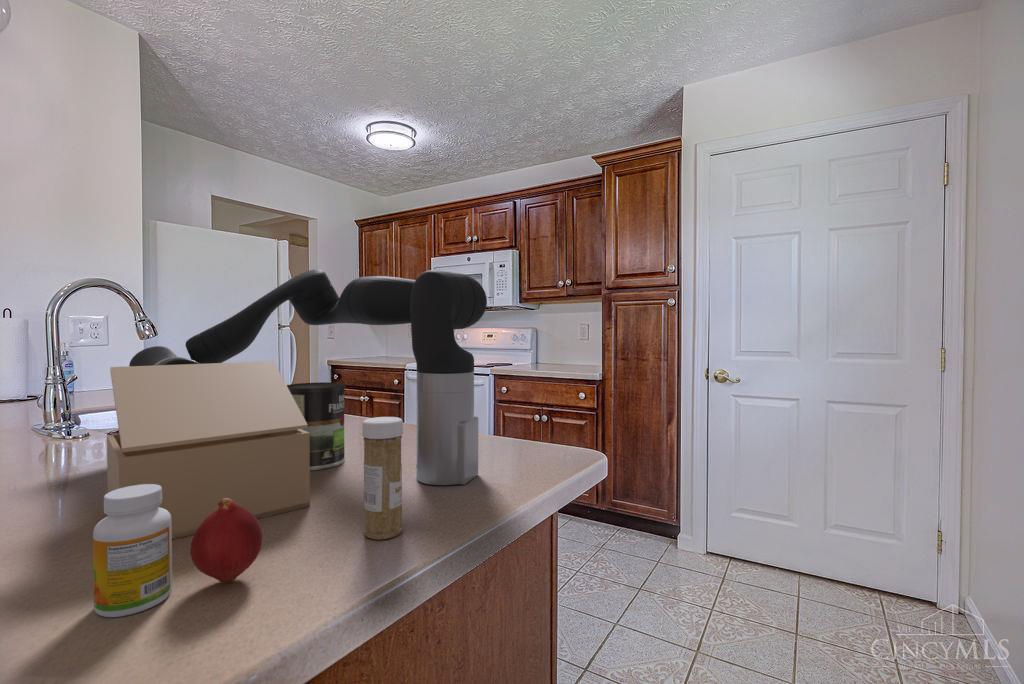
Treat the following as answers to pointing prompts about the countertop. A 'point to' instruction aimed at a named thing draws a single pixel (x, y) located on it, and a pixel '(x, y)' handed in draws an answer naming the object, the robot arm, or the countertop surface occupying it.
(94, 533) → the supplement bottle
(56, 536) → the countertop surface
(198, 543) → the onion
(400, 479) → the sprinkles bottle
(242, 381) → the carton flap
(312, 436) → the coffee can
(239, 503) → the carton
